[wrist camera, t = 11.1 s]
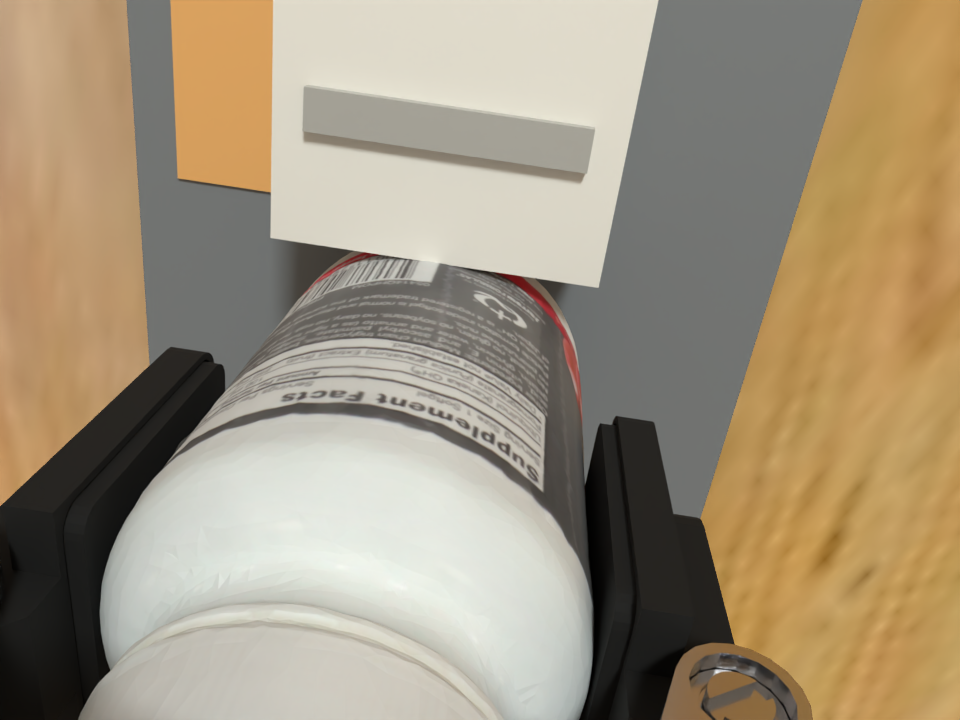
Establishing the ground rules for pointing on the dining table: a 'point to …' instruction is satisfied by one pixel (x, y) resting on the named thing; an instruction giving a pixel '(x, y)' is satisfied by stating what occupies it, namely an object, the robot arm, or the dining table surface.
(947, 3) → the dining table surface
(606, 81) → the switch tab
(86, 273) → the dining table surface
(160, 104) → the switch board
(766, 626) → the dining table surface
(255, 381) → the pill bottle
